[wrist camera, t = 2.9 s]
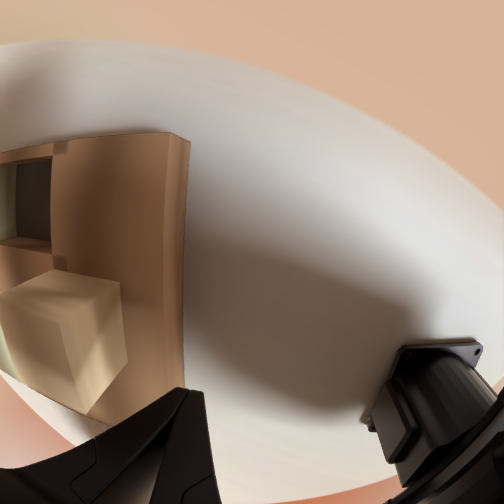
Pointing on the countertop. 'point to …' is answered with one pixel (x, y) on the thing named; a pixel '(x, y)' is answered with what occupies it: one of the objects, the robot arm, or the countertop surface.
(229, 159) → the countertop surface
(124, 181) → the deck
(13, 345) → the block
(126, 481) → the robot arm
